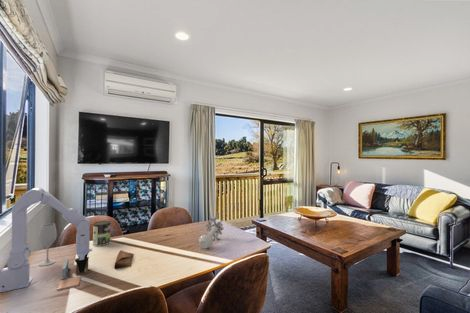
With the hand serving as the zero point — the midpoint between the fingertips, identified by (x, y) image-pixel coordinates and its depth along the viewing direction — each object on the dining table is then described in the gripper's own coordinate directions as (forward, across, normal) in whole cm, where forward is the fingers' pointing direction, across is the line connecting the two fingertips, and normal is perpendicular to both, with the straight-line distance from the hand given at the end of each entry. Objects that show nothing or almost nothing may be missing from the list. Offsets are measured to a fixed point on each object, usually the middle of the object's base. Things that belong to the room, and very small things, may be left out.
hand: (82, 268), depth 114 cm
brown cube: (+2, 0, 0) cm, 2 cm away
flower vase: (+2, +2, -74) cm, 74 cm away
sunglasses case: (+2, +2, -20) cm, 20 cm away
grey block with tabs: (+1, 0, +7) cm, 7 cm away
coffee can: (+2, +38, -9) cm, 40 cm away
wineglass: (+2, +20, +17) cm, 27 cm away
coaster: (+1, -10, +4) cm, 12 cm away
